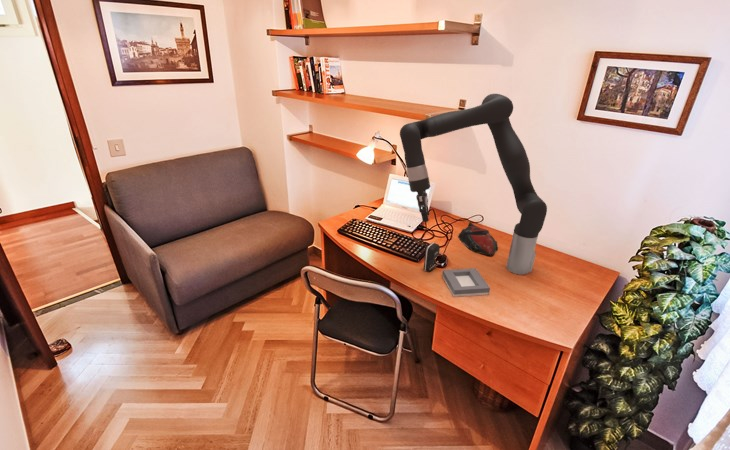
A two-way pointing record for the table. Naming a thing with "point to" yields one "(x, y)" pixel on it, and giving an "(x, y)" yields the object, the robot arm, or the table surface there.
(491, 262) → the table surface
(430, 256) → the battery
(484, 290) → the tray
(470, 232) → the drone shell
